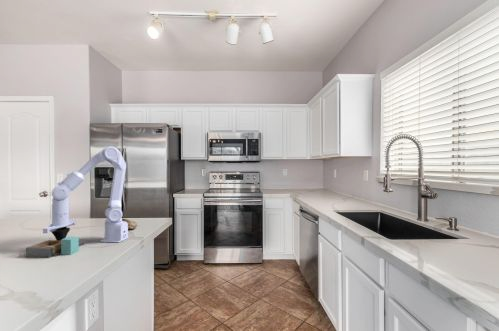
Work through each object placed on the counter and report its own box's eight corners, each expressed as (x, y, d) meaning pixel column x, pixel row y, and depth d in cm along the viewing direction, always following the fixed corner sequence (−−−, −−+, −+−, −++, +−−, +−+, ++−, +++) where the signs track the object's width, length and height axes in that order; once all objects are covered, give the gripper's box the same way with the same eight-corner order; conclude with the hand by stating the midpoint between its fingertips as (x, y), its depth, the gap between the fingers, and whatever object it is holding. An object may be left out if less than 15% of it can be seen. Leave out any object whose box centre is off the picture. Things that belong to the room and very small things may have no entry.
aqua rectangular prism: (78, 251, 101) (78, 236, 101) (70, 255, 97) (70, 239, 97) (69, 251, 101) (69, 236, 101) (61, 254, 97) (61, 239, 97)
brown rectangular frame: (68, 249, 103) (68, 240, 103) (52, 255, 95) (52, 246, 95) (48, 248, 104) (48, 240, 104) (30, 255, 96) (30, 246, 96)
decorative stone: (135, 216, 147) (140, 223, 135) (134, 223, 148) (140, 231, 136) (117, 217, 142) (121, 226, 130) (116, 225, 142) (121, 234, 130)
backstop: (84, 244, 110) (84, 236, 110) (52, 257, 93) (52, 248, 93) (59, 243, 111) (59, 235, 111) (23, 256, 94) (23, 247, 94)
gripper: (65, 210, 112) (65, 240, 112) (35, 217, 97) (35, 251, 97) (80, 210, 111) (80, 240, 111) (52, 217, 97) (52, 251, 97)
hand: (60, 245), depth 104 cm, fingers closed
